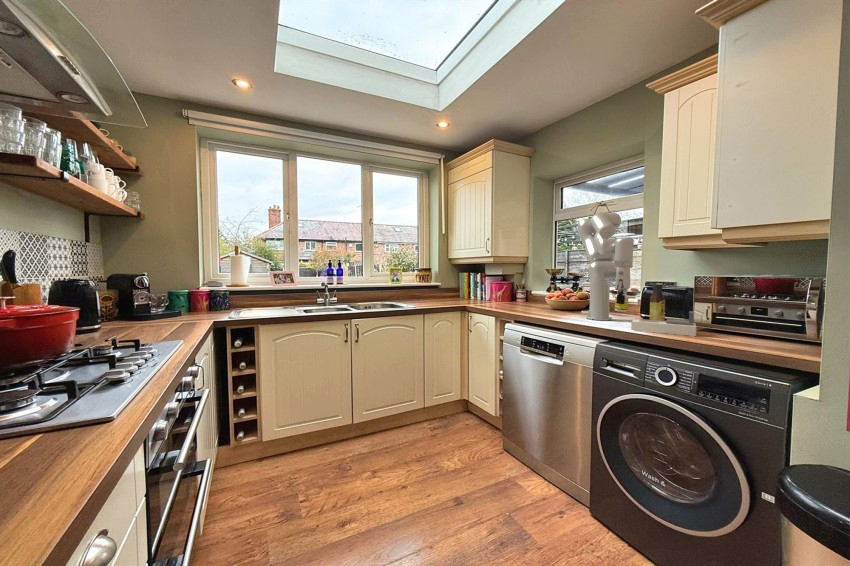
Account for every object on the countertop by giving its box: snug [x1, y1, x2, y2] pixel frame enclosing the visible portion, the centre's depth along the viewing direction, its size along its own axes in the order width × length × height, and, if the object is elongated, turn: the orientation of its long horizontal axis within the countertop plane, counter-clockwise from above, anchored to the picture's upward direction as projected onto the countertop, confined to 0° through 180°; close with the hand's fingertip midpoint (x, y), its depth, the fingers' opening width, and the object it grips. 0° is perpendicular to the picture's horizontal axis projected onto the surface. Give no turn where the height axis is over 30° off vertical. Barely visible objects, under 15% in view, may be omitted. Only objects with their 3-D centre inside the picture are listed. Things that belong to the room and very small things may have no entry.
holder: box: [630, 318, 697, 337], centre depth 146 cm, size 22×12×4 cm, turn 52°
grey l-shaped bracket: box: [665, 310, 695, 325], centre depth 142 cm, size 9×8×5 cm
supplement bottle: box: [614, 289, 629, 313], centre depth 161 cm, size 5×5×10 cm
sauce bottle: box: [649, 283, 666, 321], centre depth 171 cm, size 7×6×20 cm
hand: (621, 302), depth 161 cm, fingers closed on supplement bottle, 5 cm apart
